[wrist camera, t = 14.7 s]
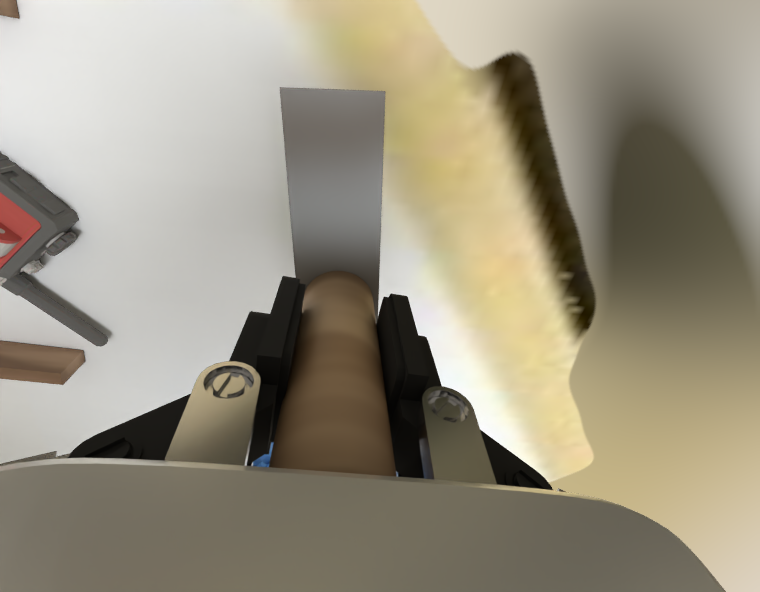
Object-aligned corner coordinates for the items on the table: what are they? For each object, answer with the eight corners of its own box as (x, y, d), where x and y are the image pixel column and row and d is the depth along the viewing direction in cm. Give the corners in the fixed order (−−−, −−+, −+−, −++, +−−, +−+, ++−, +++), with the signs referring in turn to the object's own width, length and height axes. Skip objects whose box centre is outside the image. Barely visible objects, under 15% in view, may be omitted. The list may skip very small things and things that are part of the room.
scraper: (368, 364, 22) (392, 658, 10) (316, 365, 22) (283, 669, 10) (373, 91, 15) (457, 89, 4) (298, 88, 15) (152, 77, 4)
